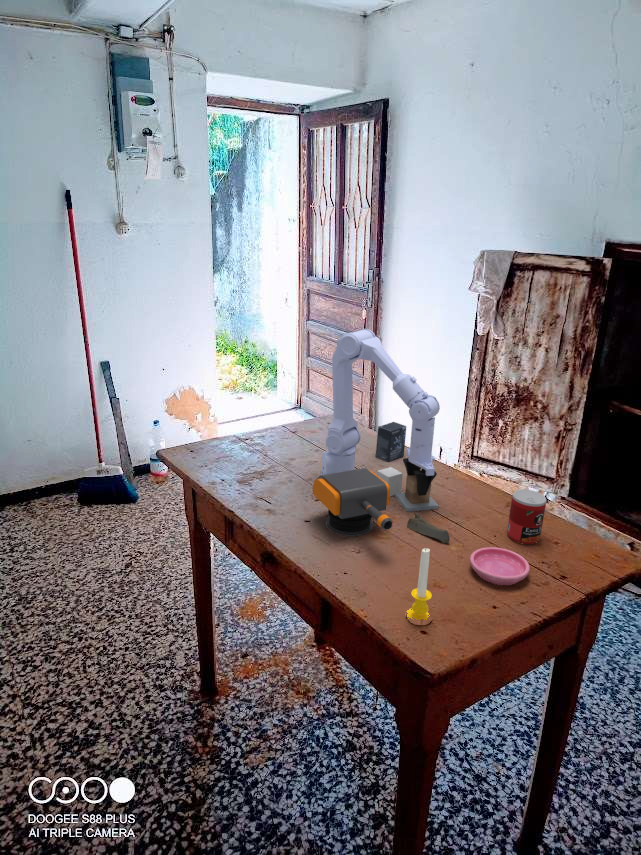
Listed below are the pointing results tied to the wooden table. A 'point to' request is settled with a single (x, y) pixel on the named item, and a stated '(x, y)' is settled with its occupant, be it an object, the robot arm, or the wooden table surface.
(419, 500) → the walnut block
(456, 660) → the wooden table surface
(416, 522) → the bone
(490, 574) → the saucer
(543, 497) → the canned food
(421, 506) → the coaster
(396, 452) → the box
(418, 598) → the candle
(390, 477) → the grey block
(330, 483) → the sander
